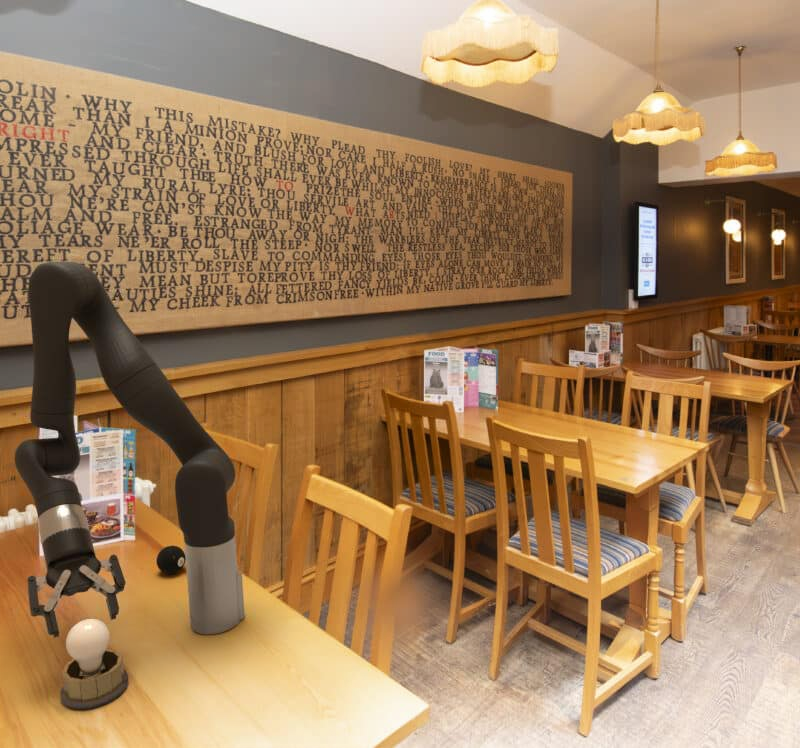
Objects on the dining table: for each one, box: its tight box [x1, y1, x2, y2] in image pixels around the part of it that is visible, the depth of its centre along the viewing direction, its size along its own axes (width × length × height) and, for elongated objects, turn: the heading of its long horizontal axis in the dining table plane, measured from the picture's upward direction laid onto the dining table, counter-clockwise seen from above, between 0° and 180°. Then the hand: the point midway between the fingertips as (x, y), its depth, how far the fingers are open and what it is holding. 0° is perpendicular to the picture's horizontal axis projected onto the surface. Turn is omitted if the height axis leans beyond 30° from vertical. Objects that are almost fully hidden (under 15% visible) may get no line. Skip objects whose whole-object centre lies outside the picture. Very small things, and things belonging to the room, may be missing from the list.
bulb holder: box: [59, 648, 130, 711], centre depth 106 cm, size 10×10×4 cm
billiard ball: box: [156, 545, 186, 575], centre depth 146 cm, size 6×6×6 cm
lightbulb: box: [65, 618, 111, 679], centre depth 105 cm, size 6×6×11 cm
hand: (85, 626), depth 106 cm, fingers open, 8 cm apart
